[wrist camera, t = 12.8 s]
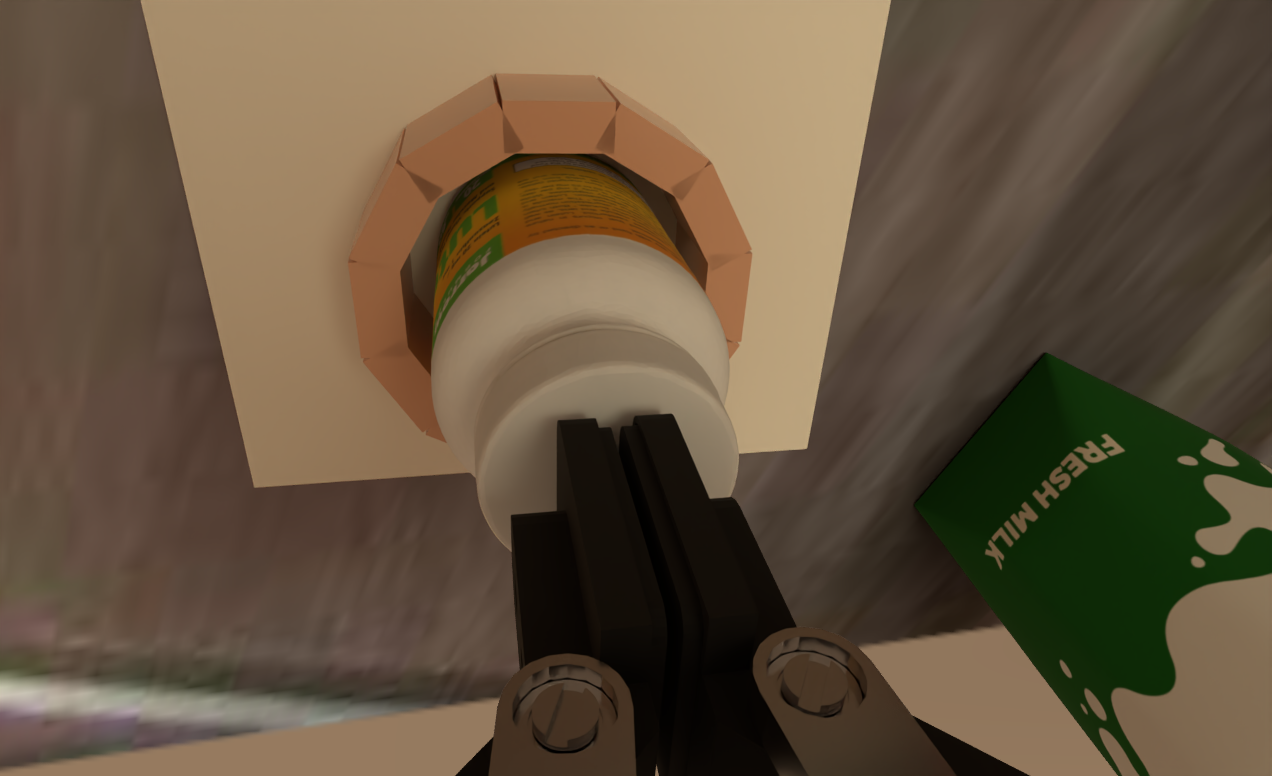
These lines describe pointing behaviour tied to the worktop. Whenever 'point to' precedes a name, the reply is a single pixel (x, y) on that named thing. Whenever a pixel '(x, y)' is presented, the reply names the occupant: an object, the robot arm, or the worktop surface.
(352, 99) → the coaster board
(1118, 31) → the worktop surface
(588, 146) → the bottle collar
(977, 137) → the worktop surface
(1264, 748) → the milk carton
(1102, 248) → the worktop surface
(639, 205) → the supplement bottle
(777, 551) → the worktop surface
